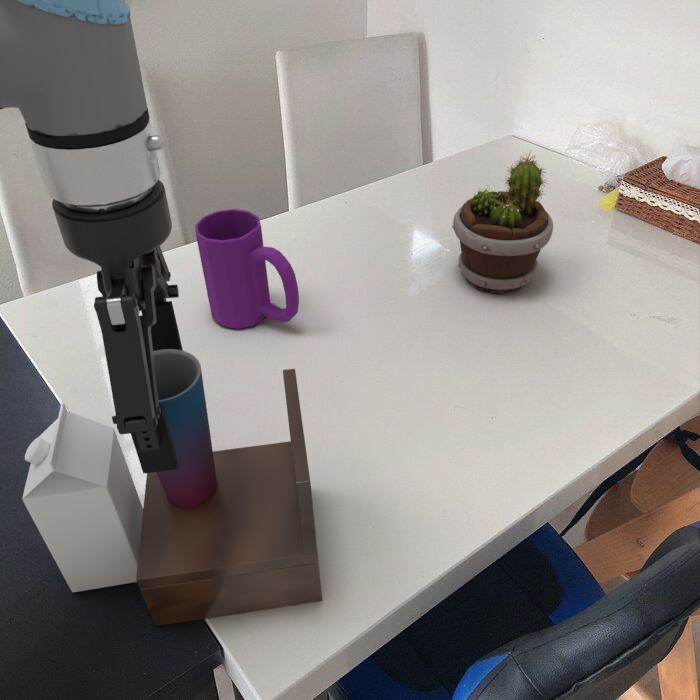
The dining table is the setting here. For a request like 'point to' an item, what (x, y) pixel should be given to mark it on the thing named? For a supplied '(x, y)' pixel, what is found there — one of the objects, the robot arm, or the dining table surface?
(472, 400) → the dining table surface
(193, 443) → the cup
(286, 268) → the mug
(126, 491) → the milk carton
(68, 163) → the robot arm
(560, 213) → the dining table surface
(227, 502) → the wooden box with backboard
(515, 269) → the flowerpot
